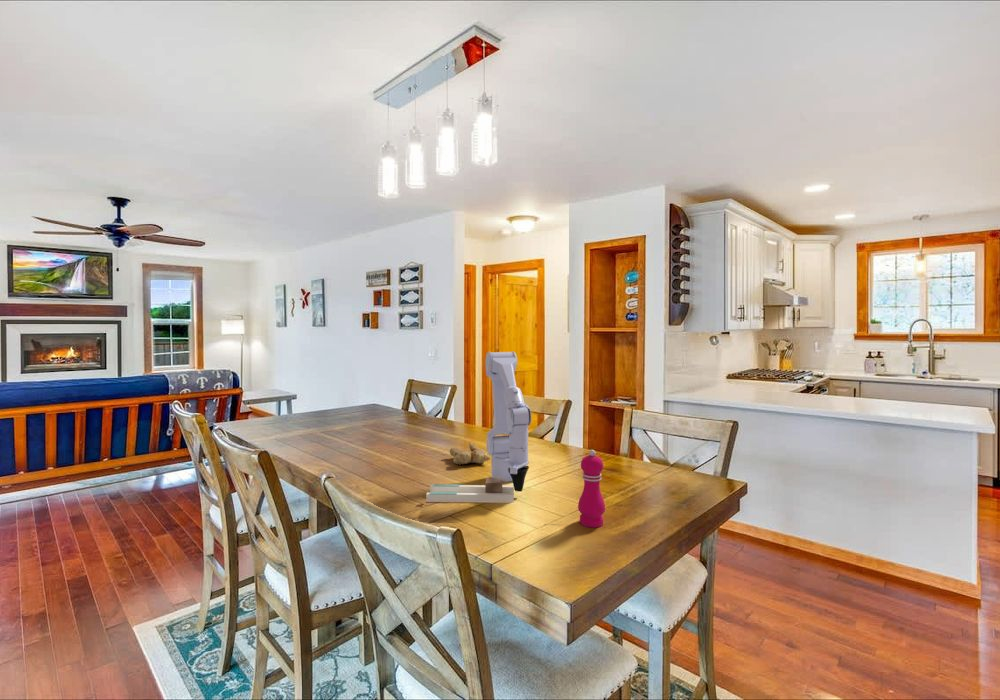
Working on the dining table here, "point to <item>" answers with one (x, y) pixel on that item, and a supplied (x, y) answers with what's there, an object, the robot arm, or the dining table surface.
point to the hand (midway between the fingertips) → (518, 490)
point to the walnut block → (493, 485)
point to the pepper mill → (591, 492)
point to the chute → (468, 494)
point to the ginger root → (469, 455)
